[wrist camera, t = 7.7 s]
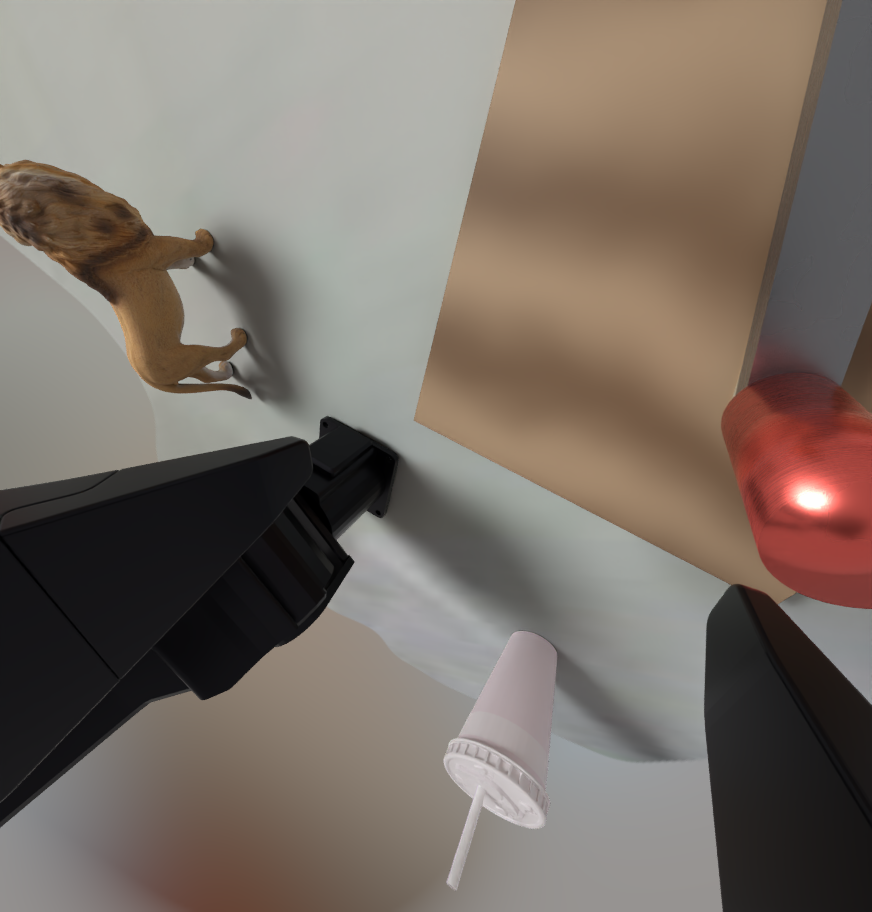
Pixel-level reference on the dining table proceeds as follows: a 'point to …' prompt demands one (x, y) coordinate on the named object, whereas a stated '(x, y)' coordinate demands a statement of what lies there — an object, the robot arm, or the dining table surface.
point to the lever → (815, 339)
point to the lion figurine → (117, 268)
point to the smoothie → (507, 741)
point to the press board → (626, 260)
